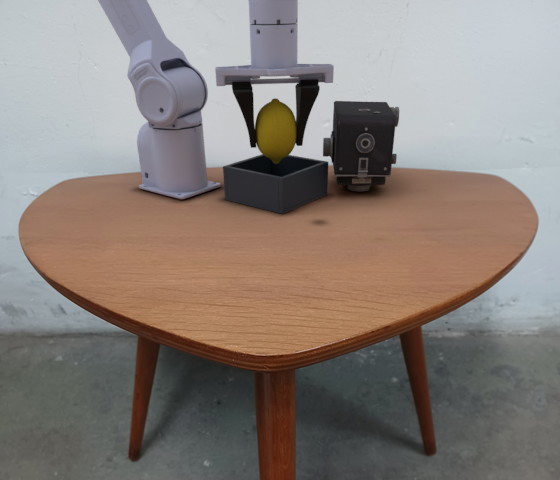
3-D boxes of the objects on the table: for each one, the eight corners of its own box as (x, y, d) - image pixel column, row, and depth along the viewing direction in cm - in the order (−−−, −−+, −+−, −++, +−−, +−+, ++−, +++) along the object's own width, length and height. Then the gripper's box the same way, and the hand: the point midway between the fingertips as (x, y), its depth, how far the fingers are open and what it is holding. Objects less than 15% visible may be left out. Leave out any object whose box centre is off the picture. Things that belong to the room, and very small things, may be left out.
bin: (224, 199, 77) (222, 166, 74) (271, 183, 83) (270, 151, 81) (282, 214, 71) (282, 178, 69) (327, 194, 78) (328, 161, 75)
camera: (400, 205, 77) (386, 166, 88) (411, 119, 69) (395, 88, 81) (323, 205, 77) (319, 166, 88) (327, 119, 70) (322, 88, 81)
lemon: (254, 159, 77) (252, 95, 72) (294, 158, 77) (294, 94, 72) (256, 169, 72) (254, 102, 68) (299, 168, 72) (299, 101, 68)
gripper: (212, 26, 62) (221, 154, 69) (340, 24, 63) (335, 149, 70) (212, 24, 68) (220, 141, 75) (329, 21, 69) (325, 138, 76)
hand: (275, 145), depth 73 cm, fingers closed on lemon, 5 cm apart
